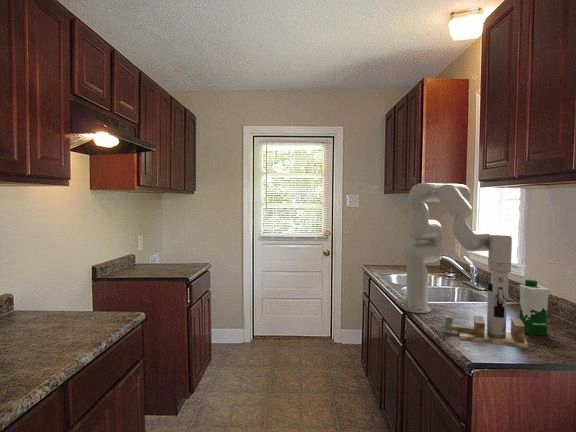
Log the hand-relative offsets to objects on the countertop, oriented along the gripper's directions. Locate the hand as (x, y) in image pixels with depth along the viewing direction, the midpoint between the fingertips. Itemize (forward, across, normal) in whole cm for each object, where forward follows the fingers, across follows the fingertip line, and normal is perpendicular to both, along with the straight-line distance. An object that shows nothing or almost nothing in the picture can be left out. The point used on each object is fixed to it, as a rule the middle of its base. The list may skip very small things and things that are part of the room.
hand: (497, 313), depth 146 cm
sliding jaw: (+8, 0, +11) cm, 14 cm away
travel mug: (+8, 0, 0) cm, 8 cm away
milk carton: (+10, +15, -14) cm, 23 cm away
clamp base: (+9, 0, +2) cm, 10 cm away
